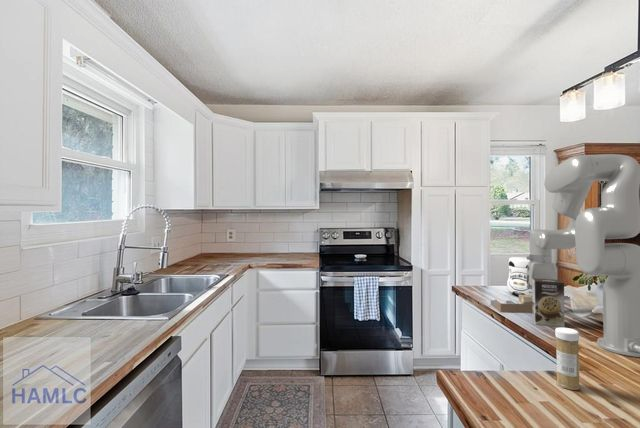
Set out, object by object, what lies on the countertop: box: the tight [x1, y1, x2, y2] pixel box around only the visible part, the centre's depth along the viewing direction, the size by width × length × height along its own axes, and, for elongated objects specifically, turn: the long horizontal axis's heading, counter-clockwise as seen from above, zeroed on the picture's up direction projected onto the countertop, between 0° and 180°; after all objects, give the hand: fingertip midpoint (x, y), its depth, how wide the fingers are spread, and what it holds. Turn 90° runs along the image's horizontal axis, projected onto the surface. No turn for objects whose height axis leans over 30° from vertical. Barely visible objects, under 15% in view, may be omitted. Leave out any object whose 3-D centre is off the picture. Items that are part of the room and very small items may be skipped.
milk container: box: [506, 256, 532, 297], centre depth 163 cm, size 17×17×18 cm
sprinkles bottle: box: [554, 326, 581, 391], centre depth 80 cm, size 5×5×14 cm
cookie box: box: [531, 278, 565, 328], centre depth 123 cm, size 9×6×16 cm
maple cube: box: [518, 295, 532, 304], centre depth 139 cm, size 4×4×4 cm
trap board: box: [490, 299, 532, 314], centre depth 141 cm, size 11×15×4 cm
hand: (541, 303), depth 138 cm, fingers closed
